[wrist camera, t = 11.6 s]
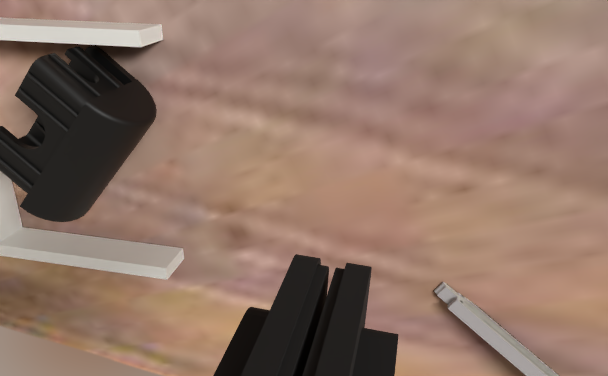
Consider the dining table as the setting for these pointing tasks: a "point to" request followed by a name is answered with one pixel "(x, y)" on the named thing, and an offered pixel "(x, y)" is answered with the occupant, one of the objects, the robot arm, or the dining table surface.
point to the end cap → (74, 131)
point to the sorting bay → (65, 246)
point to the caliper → (493, 333)
